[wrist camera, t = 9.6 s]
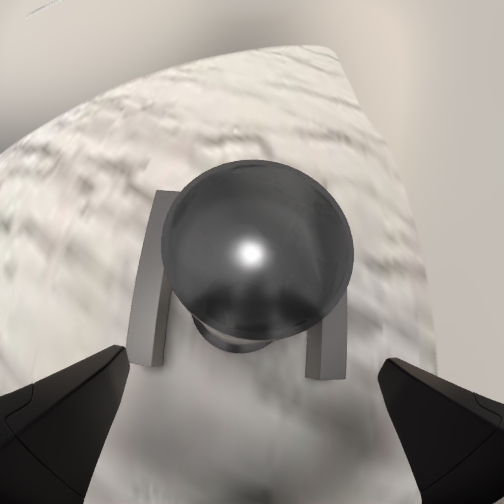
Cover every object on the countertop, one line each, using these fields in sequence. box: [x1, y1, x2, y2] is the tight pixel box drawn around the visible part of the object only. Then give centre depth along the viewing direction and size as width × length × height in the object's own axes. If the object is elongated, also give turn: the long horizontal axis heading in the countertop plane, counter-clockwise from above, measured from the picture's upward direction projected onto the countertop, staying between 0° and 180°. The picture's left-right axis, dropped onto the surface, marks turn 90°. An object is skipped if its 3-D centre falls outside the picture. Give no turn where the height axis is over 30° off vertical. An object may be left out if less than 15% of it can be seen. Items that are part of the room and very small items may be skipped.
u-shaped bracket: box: [126, 190, 347, 380], centre depth 17 cm, size 11×13×4 cm
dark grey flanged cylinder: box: [161, 160, 354, 353], centre depth 13 cm, size 6×6×11 cm
